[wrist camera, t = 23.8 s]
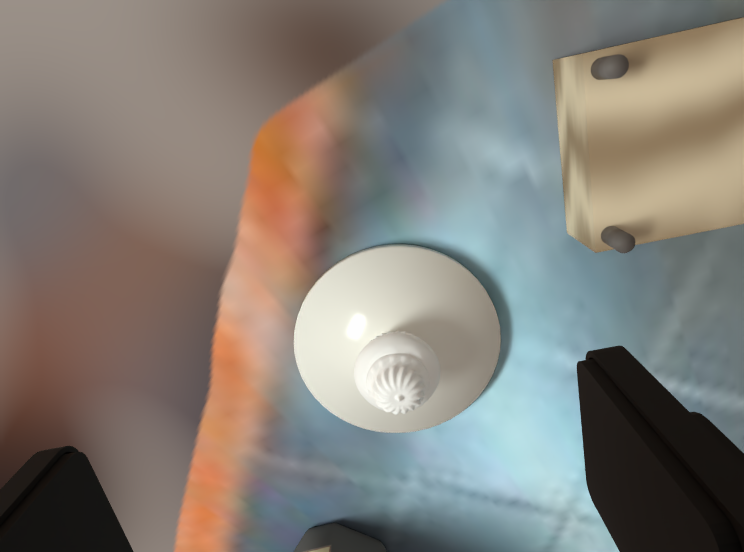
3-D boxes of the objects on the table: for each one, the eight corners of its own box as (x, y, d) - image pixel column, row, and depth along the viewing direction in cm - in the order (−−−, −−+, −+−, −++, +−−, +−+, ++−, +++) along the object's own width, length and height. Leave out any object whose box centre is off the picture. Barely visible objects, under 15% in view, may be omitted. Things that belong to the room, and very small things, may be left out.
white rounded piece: (351, 316, 38) (347, 362, 31) (432, 310, 38) (445, 355, 31) (359, 387, 40) (357, 444, 33) (436, 381, 40) (448, 437, 33)
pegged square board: (734, 199, 36) (815, 222, 29) (567, 233, 37) (609, 262, 30) (740, 17, 32) (834, -3, 26) (552, 60, 33) (597, 50, 26)
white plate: (508, 405, 42) (512, 414, 41) (323, 438, 43) (321, 447, 42) (482, 223, 37) (486, 227, 36) (272, 266, 38) (269, 271, 37)
